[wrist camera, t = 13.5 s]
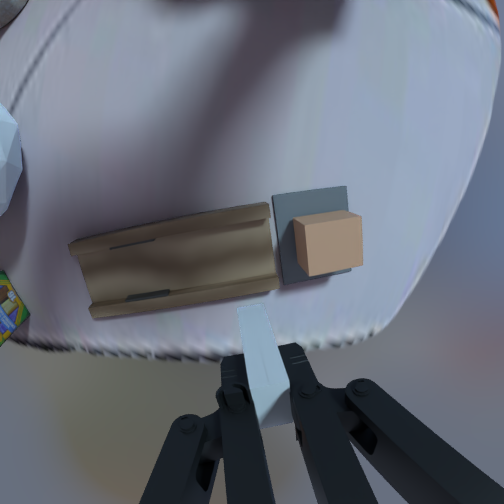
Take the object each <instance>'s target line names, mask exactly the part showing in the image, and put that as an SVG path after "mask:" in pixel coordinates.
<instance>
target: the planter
mask: <svg viewBox="0 0 504 504" xmlns="http://www.w3.org/2000/svg"><path fill="white" fill-rule="evenodd" d="M27 1H28V0H0V28H2V27H4V26H5V25H6V24H8V23H9V22H10V21H11V20H12V19H13V18H15V17H16V16H17V14H18V13H19V12H20V11H21V10H22V9H23V7H24V6H25V4H26V3H27Z"/></svg>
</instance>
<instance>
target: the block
mask: <svg viewBox="0 0 504 504" xmlns="http://www.w3.org/2000/svg"><path fill="white" fill-rule="evenodd" d="M293 224H294V233H295V242H296V252H297V262H298V264H299V265H300V266H301V267H302V269H303V270H304V271H305V272H306V273H307V275H308V276H309V277H310V276H315V275H320V274H325V273H329V272H334V271H339V270H343V269H348V268H353V267H357V266H362V265H363V240H362V218H361V216H359V215H356V214H354V213H351V212H348V211H345V210H339V211H333V212H326V213H319V214H313V215H306V216H300V217H294V218H293Z"/></svg>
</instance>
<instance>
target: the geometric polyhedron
mask: <svg viewBox="0 0 504 504" xmlns="http://www.w3.org/2000/svg"><path fill="white" fill-rule="evenodd" d="M22 170H23V168H22V155H21V140H20V134H19V128H18V124H17V123H16V121H15V120H14V119H13V117H12V116H11V115H10V113H9V112H8V111H7V109H6V108H5V107H4V106H3V105H2V104H1V103H0V216H1V215H2V214H3V213H4V212H5V211H6V210H7V209H8V206H9V203H10V200H11V198H12V195H13V192H14V190H15V187H16V185H17V182H18V180H19V177H20V175H21V172H22Z"/></svg>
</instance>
